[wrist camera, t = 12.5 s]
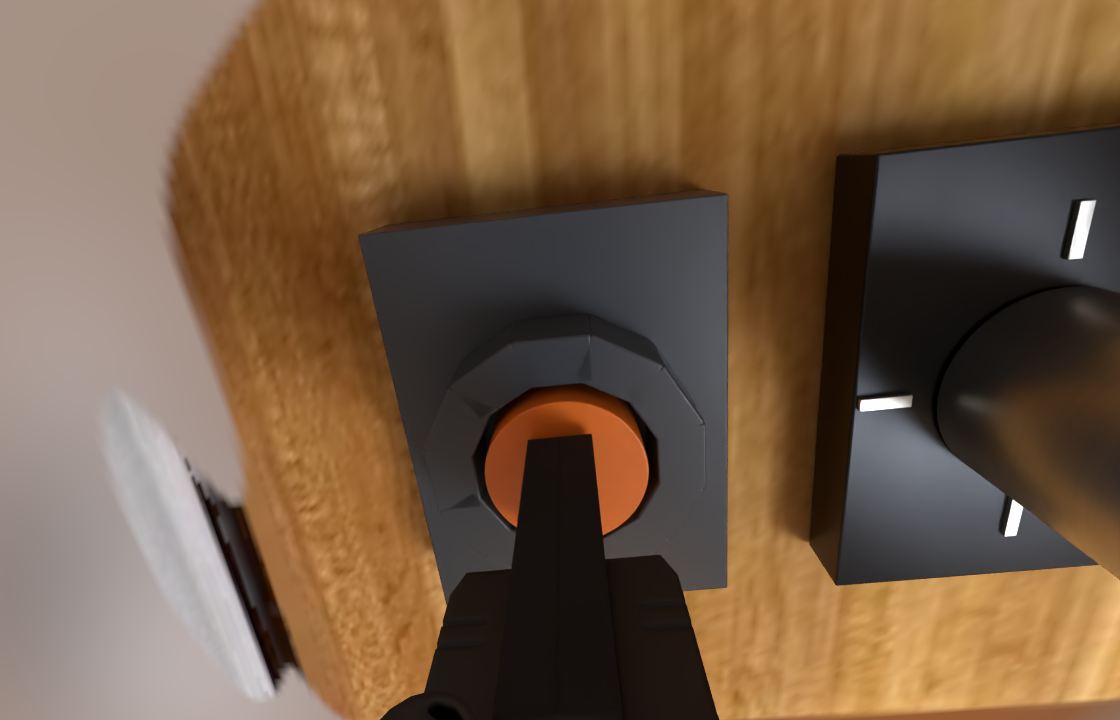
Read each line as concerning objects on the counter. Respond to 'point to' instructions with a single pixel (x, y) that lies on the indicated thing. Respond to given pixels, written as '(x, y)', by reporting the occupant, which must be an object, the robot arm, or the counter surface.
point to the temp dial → (1045, 412)
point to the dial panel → (943, 339)
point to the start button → (570, 415)
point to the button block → (564, 359)
